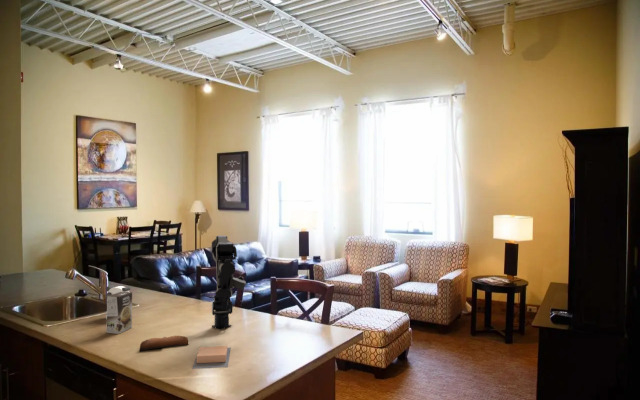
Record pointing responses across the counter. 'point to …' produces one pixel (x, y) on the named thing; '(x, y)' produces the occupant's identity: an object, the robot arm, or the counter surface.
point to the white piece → (116, 290)
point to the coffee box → (119, 312)
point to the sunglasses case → (163, 342)
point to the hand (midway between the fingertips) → (225, 309)
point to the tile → (212, 354)
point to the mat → (213, 364)
